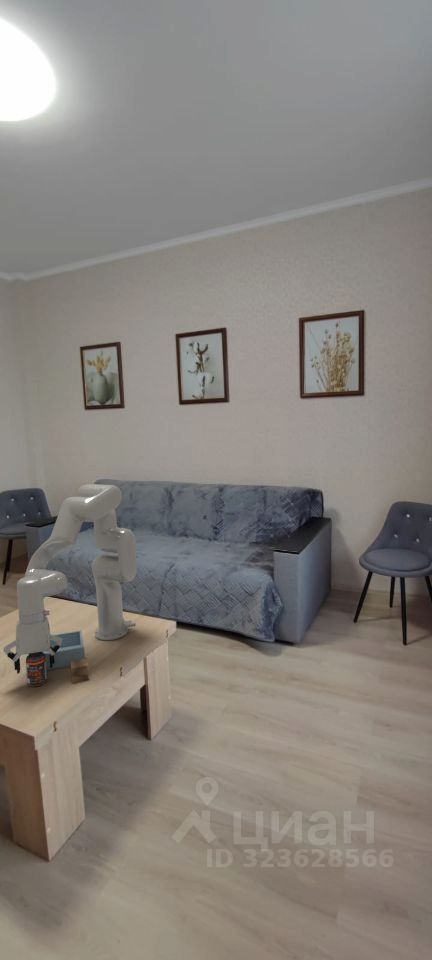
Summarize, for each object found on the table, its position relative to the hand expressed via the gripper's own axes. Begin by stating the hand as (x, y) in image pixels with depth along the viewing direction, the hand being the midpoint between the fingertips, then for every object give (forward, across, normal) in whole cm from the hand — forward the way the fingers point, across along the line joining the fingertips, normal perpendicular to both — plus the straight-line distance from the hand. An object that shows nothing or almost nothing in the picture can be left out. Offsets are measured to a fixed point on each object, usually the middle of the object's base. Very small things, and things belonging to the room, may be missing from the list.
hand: (35, 668), depth 145 cm
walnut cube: (+5, -13, +2) cm, 14 cm away
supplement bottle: (+5, 0, 0) cm, 5 cm away
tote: (+5, -6, -14) cm, 16 cm away
